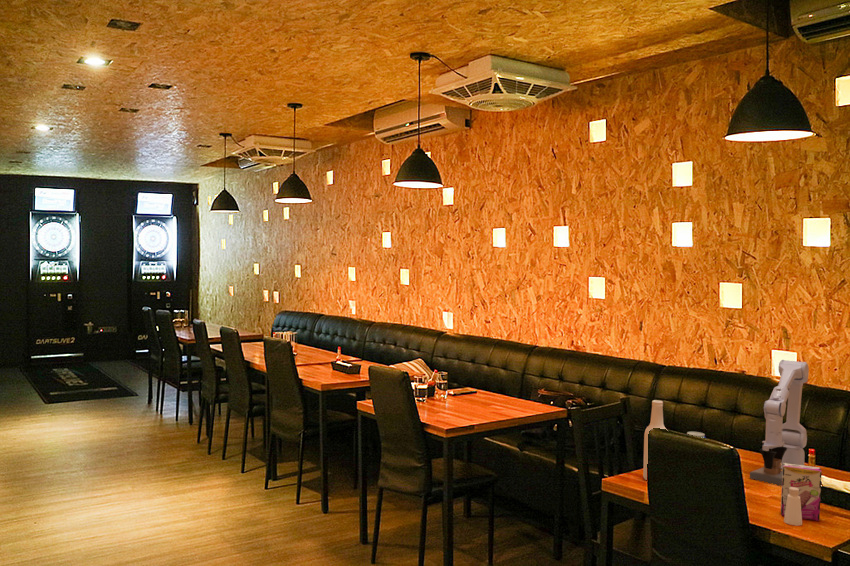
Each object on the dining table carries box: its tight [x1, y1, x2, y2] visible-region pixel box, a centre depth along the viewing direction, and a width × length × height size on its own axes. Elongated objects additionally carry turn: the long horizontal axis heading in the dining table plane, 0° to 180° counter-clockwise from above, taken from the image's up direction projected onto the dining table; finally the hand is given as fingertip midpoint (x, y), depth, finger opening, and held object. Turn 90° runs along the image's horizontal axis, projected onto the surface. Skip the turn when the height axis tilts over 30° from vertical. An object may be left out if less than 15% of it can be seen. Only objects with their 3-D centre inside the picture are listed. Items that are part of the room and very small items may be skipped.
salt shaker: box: [783, 487, 803, 526], centre depth 221 cm, size 5×5×11 cm
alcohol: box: [642, 399, 668, 481], centre depth 264 cm, size 9×9×30 cm
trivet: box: [749, 466, 782, 487], centre depth 268 cm, size 12×12×3 cm
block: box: [763, 458, 782, 475], centre depth 268 cm, size 4×4×5 cm
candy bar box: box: [780, 463, 822, 522], centre depth 227 cm, size 11×5×16 cm, turn 65°
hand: (772, 466), depth 268 cm, fingers open, 7 cm apart
